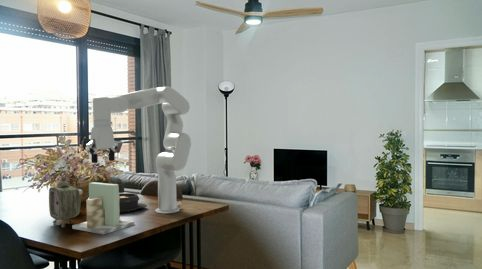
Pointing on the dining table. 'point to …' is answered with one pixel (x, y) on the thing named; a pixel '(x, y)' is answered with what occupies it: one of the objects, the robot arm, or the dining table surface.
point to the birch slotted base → (103, 227)
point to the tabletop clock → (64, 201)
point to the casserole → (129, 202)
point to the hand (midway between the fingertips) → (103, 161)
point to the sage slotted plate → (107, 200)
